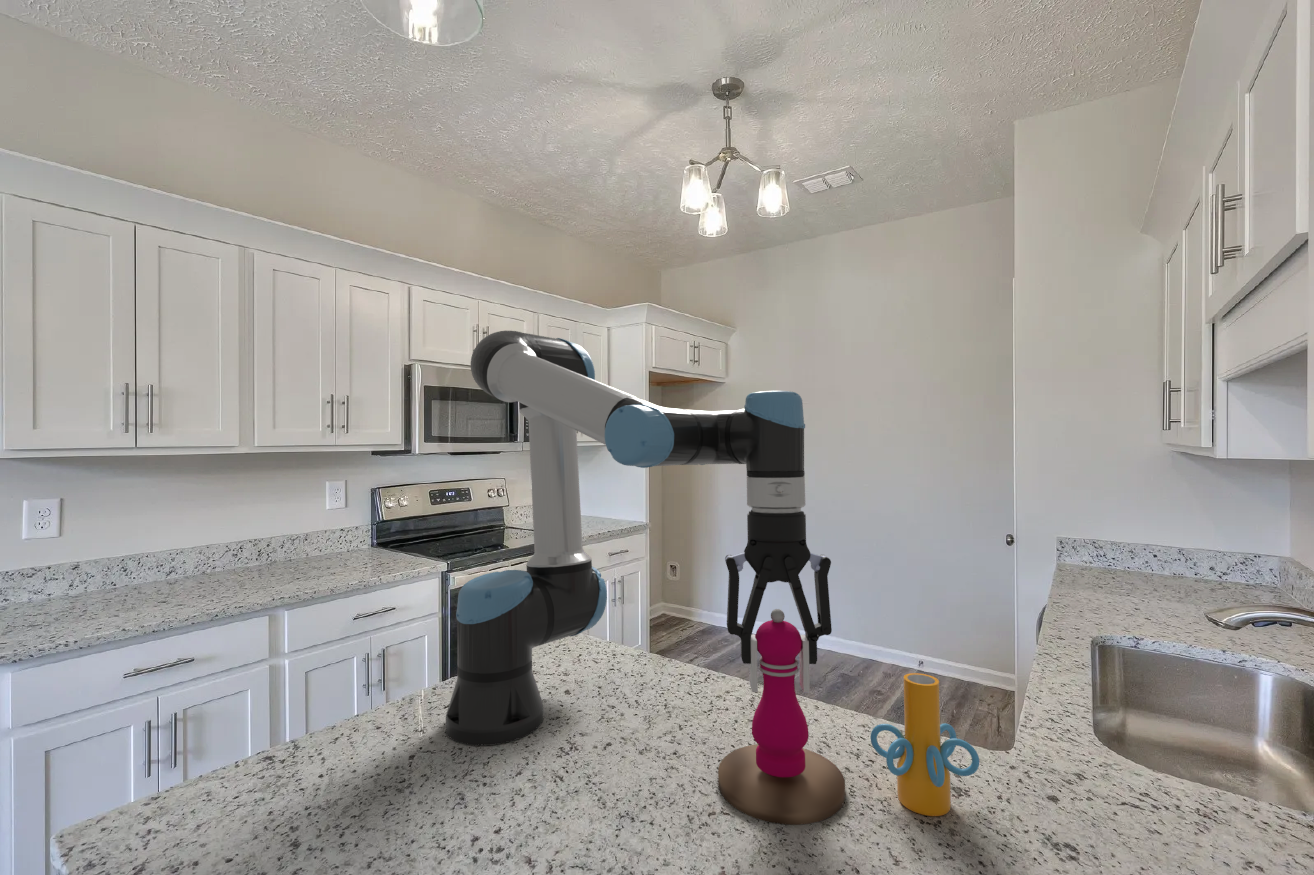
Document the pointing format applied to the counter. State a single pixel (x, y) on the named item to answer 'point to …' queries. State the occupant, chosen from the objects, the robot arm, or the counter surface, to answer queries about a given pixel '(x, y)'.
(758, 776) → the walnut board
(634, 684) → the counter surface
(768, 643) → the pepper mill
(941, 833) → the counter surface
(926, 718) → the cylinder
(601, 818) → the counter surface
